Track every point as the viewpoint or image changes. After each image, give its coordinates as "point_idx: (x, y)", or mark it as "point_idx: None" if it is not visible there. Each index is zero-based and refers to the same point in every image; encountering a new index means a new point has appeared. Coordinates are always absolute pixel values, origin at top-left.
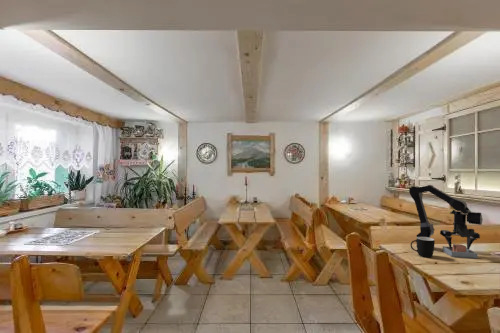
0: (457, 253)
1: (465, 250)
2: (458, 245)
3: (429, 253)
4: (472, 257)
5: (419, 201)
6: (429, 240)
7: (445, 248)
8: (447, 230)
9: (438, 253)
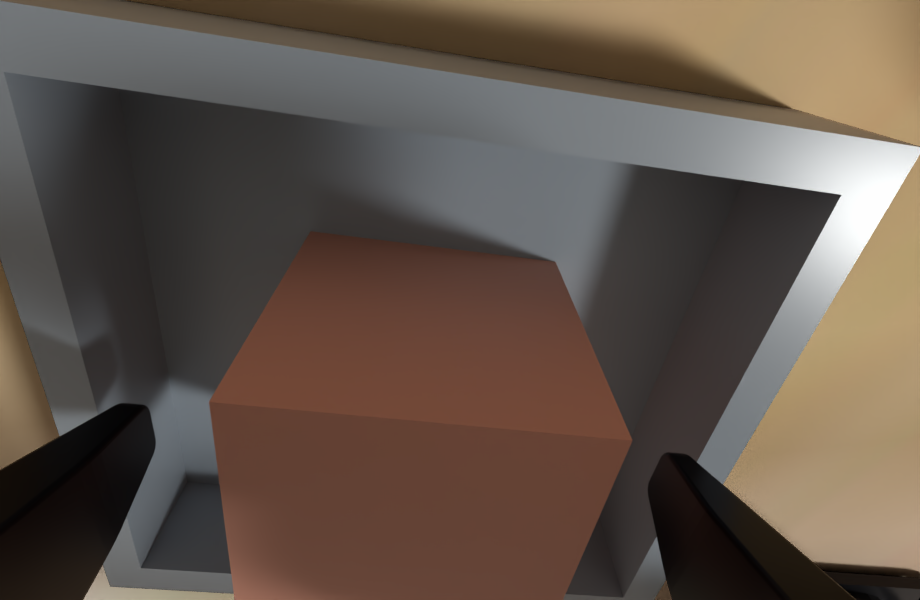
0: (697, 104)
1: (293, 306)
2: (461, 531)
3: None
4: (210, 14)
5: None
6: None
7: None
8: None
9: (846, 376)
